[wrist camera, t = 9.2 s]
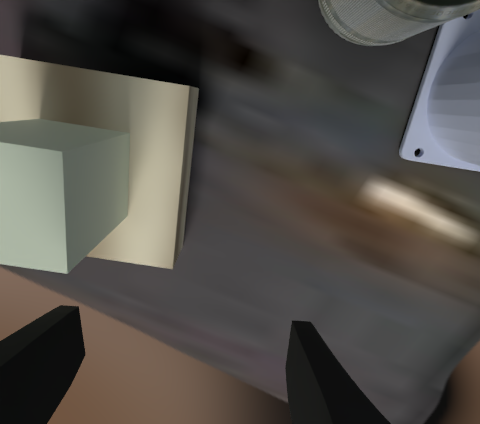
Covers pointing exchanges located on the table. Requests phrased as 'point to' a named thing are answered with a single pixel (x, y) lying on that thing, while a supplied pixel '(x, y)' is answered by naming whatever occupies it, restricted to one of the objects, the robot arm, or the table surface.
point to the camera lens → (390, 18)
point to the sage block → (59, 191)
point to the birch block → (141, 144)
